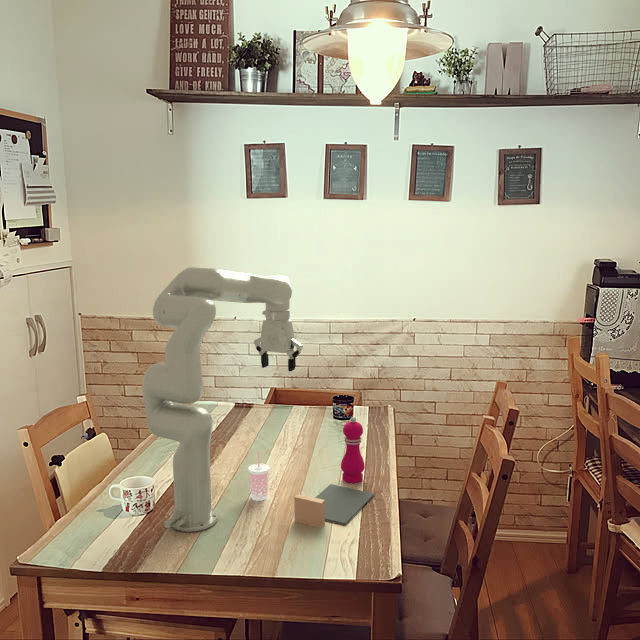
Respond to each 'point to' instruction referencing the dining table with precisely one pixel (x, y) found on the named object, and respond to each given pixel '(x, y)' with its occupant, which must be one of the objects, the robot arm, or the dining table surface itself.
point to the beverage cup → (258, 480)
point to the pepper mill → (352, 453)
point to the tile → (309, 510)
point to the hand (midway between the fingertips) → (278, 368)
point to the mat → (343, 502)
